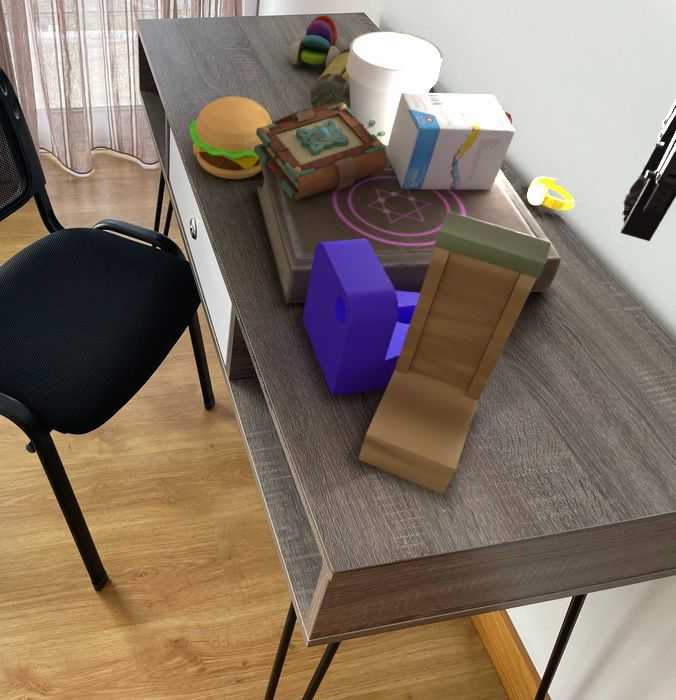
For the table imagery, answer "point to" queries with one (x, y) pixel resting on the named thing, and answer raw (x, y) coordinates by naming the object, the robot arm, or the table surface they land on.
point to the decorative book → (320, 151)
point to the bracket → (355, 316)
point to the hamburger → (229, 137)
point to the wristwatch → (633, 196)
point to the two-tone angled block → (452, 348)
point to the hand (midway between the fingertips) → (637, 218)
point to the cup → (388, 75)
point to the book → (384, 225)
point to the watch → (540, 195)
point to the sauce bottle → (333, 83)
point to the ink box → (448, 141)
